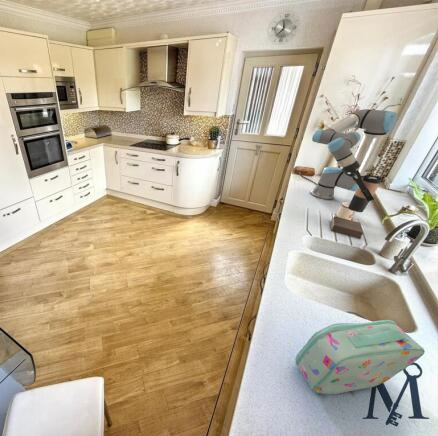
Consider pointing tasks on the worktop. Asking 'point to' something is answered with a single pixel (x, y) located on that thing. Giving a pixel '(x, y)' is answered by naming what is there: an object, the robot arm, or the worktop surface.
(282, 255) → the worktop surface
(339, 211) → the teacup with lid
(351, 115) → the robot arm
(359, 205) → the travel mug
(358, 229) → the block
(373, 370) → the lunch box
